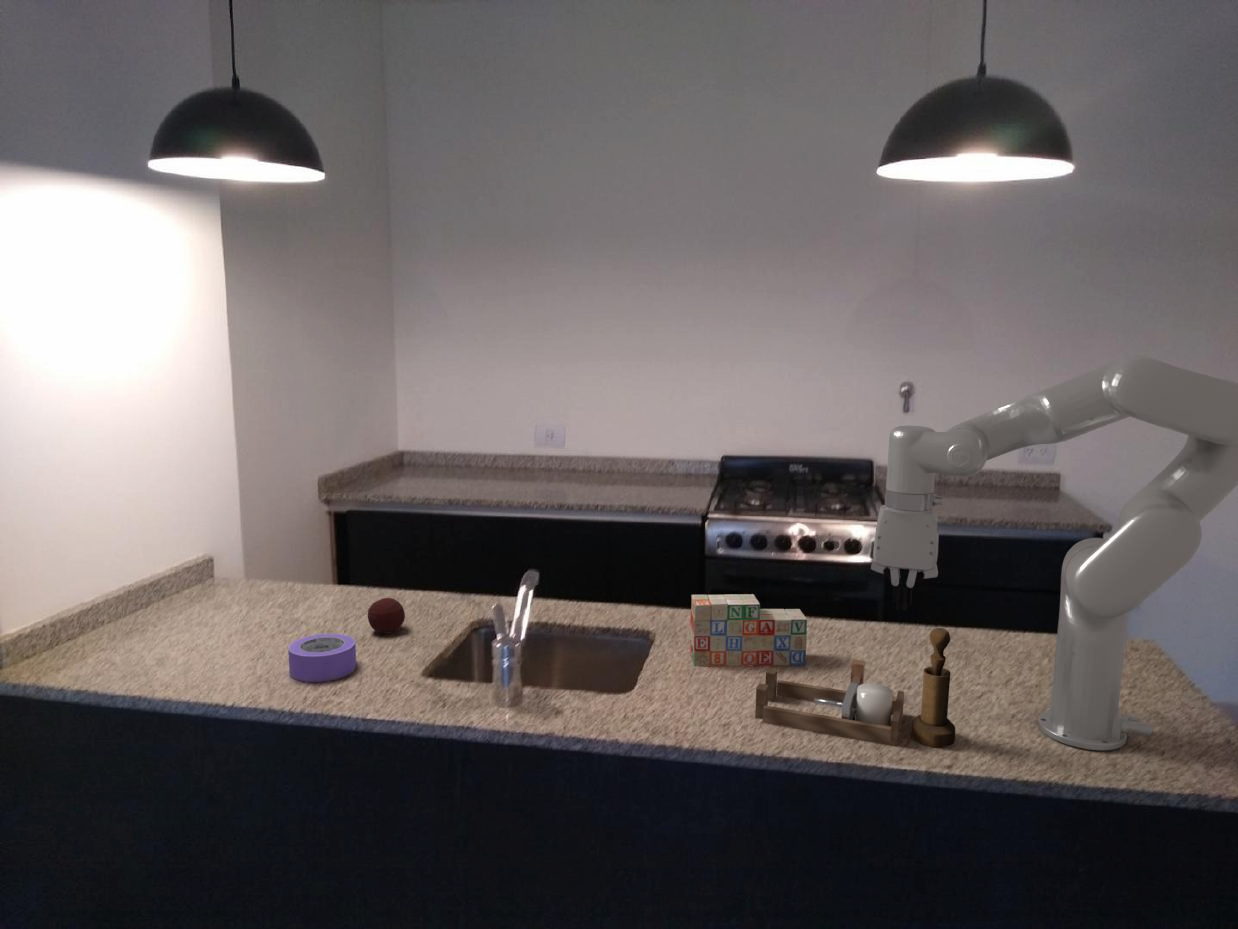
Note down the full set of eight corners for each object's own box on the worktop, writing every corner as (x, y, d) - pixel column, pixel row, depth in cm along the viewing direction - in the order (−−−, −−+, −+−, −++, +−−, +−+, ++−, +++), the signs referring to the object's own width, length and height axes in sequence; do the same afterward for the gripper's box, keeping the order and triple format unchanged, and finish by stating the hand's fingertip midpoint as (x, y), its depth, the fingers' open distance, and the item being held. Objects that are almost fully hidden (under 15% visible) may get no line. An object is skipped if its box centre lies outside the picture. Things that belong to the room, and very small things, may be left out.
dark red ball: (361, 635, 183) (360, 602, 182) (381, 623, 190) (380, 591, 189) (393, 640, 181) (392, 606, 180) (412, 627, 188) (411, 595, 187)
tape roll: (333, 653, 174) (332, 628, 173) (369, 668, 167) (368, 643, 166) (277, 671, 165) (275, 645, 164) (312, 688, 158) (310, 661, 157)
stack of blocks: (798, 654, 176) (801, 593, 174) (805, 666, 170) (808, 604, 168) (689, 654, 175) (690, 593, 173) (692, 666, 169) (694, 604, 167)
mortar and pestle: (902, 737, 142) (910, 628, 138) (922, 724, 146) (930, 618, 143) (943, 752, 137) (951, 639, 134) (962, 738, 141) (970, 629, 138)
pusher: (863, 693, 157) (864, 661, 156) (851, 732, 142) (853, 697, 141) (824, 687, 160) (826, 655, 159) (809, 725, 145) (810, 690, 144)
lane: (902, 714, 150) (904, 685, 149) (896, 746, 139) (898, 715, 138) (769, 692, 158) (770, 665, 157) (753, 720, 147) (754, 691, 146)
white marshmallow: (892, 721, 147) (894, 686, 146) (888, 735, 142) (891, 700, 141) (857, 715, 149) (859, 681, 148) (853, 729, 144) (855, 694, 143)
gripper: (957, 500, 149) (949, 606, 152) (865, 492, 154) (858, 595, 158) (956, 509, 142) (947, 620, 145) (859, 501, 148) (853, 608, 151)
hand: (901, 607), depth 151 cm, fingers closed
